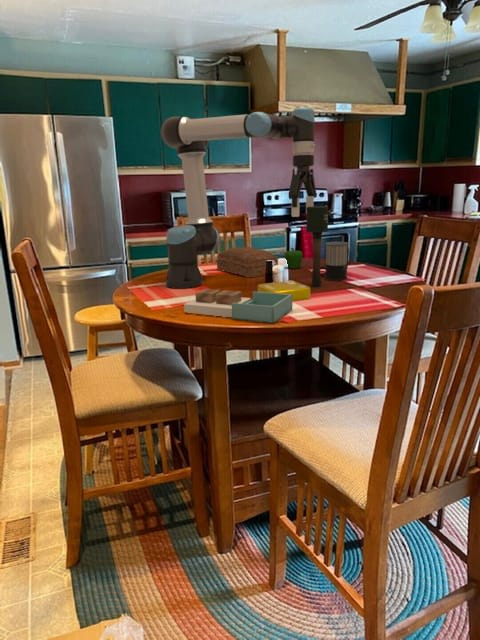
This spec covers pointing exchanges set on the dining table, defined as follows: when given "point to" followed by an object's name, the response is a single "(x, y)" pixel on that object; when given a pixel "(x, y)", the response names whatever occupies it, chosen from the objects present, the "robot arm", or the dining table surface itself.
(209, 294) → the rear tile
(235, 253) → the bread
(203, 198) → the robot arm
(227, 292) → the front tile
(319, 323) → the dining table surface
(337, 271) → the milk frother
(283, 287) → the element tile
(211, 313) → the board
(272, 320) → the tray
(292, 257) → the bell pepper
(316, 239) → the stick grenade
